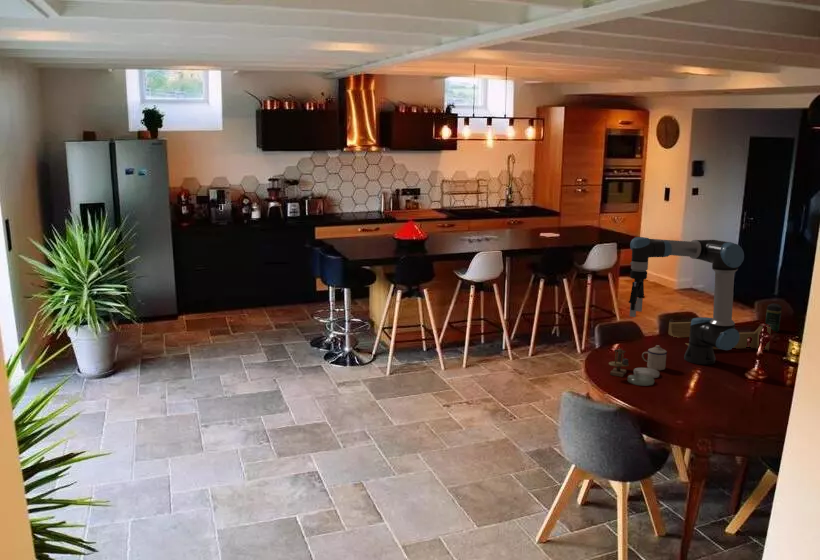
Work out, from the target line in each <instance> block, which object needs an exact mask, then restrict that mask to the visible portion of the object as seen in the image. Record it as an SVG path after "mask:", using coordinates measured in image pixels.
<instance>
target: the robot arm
mask: <svg viewBox="0 0 820 560" xmlns="http://www.w3.org/2000/svg"><path fill="white" fill-rule="evenodd" d="M629 247H630V250H631V262H629V264H630V269H631V270H630V275H629V277H630V278H631V279H634V281H632V284H631V292H630V296H629V300H628V304H629V317H631V318H636V315H637V312H639V313H640V312H643V299H645V298H646V297H645V296H646V295H645V291H644V290H645V288H644V285H645V284H644V283H645V282H644V280H647V279H648V269H649V258H666V257H667V258H668V257H669V256H676V257H677V256H679V257H689V258H690V259H693V260H700V261H704V262H707V263H711V265H712V266H711V268H712V270H713V271H714V273H715V275H714V291H713V292H714V293H713V310H712V311H713V314H712V315H713V316H712V317H694V318H691V319H690V322H691V325H690V337H688V338H689V340H688V343H689V346H688V345H687V349H686V350H685V353H684V355H683V359H684V361H686V362H688V363H691V364H695V365H696V364H697V365H713V364H715V363H716V355H715V352H714V350H715V349H713V346H714V347H716V348H718V349H717V350H723V351H730V350H732V348H734V347H735V345H737V343H738V341H739V338H740V335H739V333H740V331H739V330H738V329H736V326H735V325H736V322H735V321H734V319H733V305H734V285H735V283H734V282H735V273H736V272H737V271H738V270H739V267H740V266H741V265H742V263H743V262H744V260H745V253H744V250H743V248H742V247H741V246H740V245H739V244H738V243H734V242H731V241H724V240H717V239H693V240H691V241H689V240H687V241H686V240H673V239H658V238H650V237H642V236H640V237H639V236H637V237H634V238H632V239H631V241H630V243H629Z"/></svg>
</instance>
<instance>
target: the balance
mask: <svg viewBox="0 0 820 560" xmlns="http://www.w3.org/2000/svg"><path fill="white" fill-rule="evenodd" d="M613 352H615V355H614V361H609V362H608V365H609V366H610V367H613V369H611V370H610V372H609V375H610V376H614V377H621V378H623V377H624V376H625V375H626V374H627V369H624V368H621V367H629V366H630V365H629V359H628V358H624V355H625V353H626V350H623V349H622V348H618V349H614V351H613Z"/></svg>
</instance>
